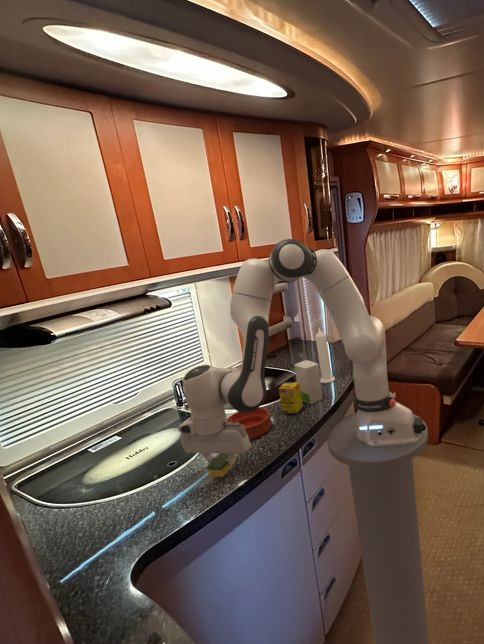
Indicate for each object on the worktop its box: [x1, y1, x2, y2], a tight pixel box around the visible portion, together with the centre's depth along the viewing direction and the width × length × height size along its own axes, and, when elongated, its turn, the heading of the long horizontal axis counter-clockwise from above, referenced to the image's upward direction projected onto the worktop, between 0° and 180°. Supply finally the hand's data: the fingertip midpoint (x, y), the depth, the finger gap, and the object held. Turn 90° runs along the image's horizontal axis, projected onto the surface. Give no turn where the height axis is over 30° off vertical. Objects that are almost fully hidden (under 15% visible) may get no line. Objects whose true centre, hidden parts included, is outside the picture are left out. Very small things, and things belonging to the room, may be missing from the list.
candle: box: [314, 327, 336, 384], centre depth 166 cm, size 7×7×25 cm
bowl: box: [226, 406, 273, 440], centre depth 132 cm, size 15×15×5 cm
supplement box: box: [278, 381, 304, 416], centre depth 142 cm, size 6×6×11 cm
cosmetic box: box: [293, 359, 324, 405], centre depth 150 cm, size 8×7×16 cm
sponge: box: [206, 454, 236, 478], centre depth 109 cm, size 4×7×3 cm, turn 168°
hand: (221, 464), depth 109 cm, fingers closed on sponge, 4 cm apart
